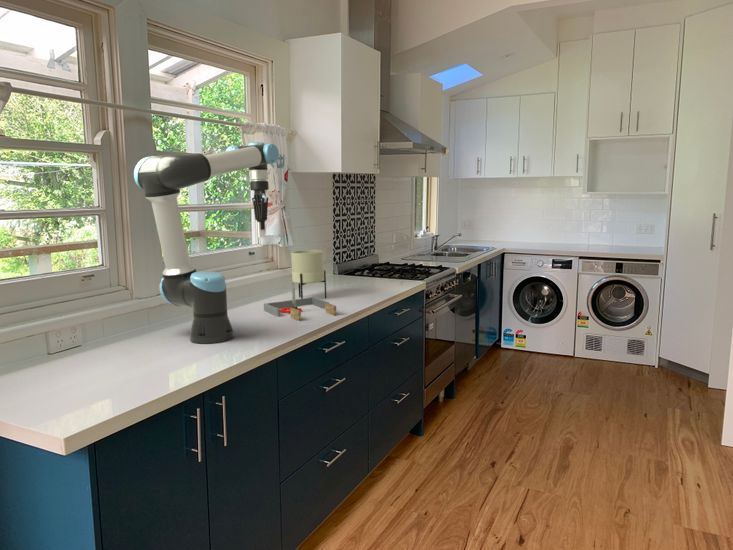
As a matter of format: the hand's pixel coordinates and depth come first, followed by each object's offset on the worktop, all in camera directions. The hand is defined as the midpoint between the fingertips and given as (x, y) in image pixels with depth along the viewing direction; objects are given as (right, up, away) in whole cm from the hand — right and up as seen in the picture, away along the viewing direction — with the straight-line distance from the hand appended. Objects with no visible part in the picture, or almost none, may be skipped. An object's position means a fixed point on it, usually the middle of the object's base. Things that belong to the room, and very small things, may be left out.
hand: (262, 237), depth 238 cm
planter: (+16, -28, +33) cm, 46 cm away
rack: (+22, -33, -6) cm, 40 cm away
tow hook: (+11, -32, +6) cm, 34 cm away
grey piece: (+14, -31, +9) cm, 35 cm away
